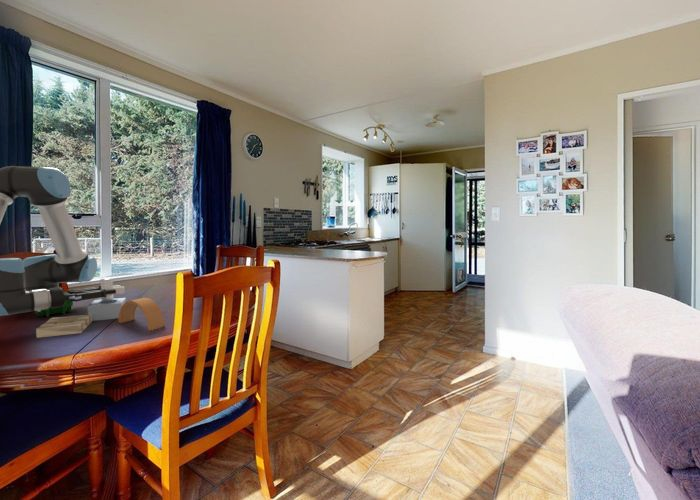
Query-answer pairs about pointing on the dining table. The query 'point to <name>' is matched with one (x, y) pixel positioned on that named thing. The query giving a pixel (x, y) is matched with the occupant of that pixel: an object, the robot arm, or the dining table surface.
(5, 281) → the robot arm
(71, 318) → the birch block
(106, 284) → the steel axle
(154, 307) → the arch
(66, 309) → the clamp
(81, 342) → the dining table surface
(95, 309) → the slate holder block
